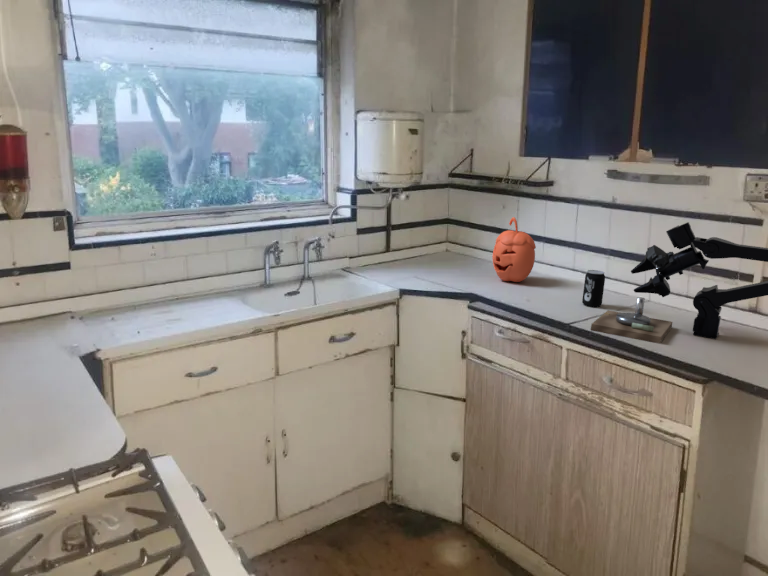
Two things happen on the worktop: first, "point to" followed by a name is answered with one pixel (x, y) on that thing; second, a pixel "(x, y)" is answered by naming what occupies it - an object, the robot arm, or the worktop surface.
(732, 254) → the robot arm
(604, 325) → the base plate
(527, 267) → the jack-o'-lantern
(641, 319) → the silver curved piece
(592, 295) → the beverage can
